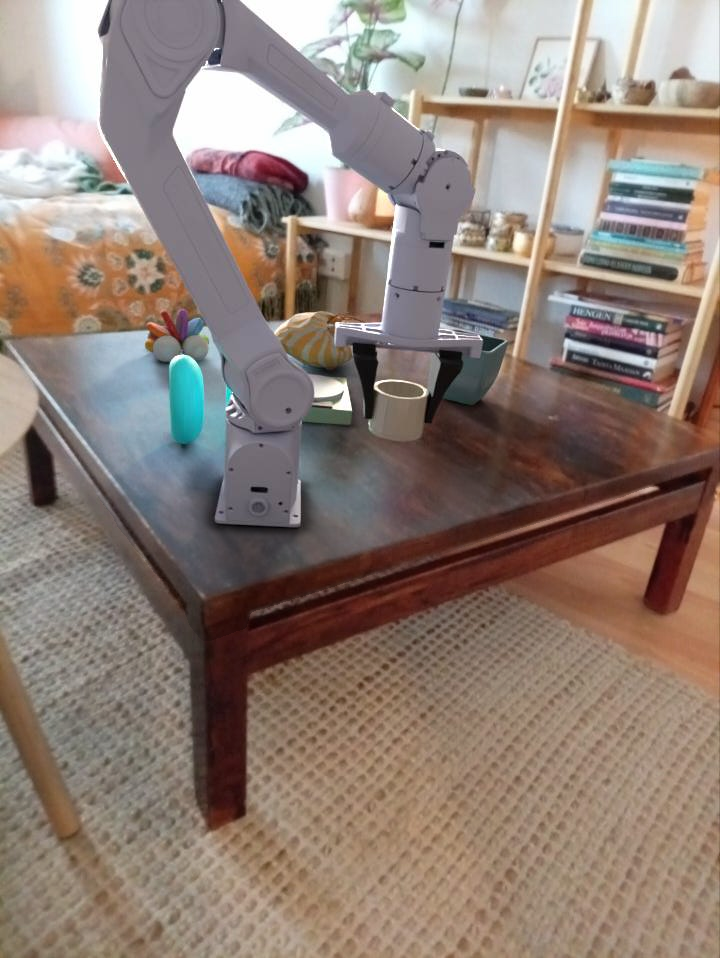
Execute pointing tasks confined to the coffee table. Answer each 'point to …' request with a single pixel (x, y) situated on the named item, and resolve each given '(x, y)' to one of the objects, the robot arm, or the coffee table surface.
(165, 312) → the rainbow peacock toy
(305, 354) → the nautilus
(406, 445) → the coffee table surface
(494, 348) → the flower pot
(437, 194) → the robot arm
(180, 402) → the teal upright capsule
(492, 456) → the coffee table surface
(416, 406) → the white cup
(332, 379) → the scale
